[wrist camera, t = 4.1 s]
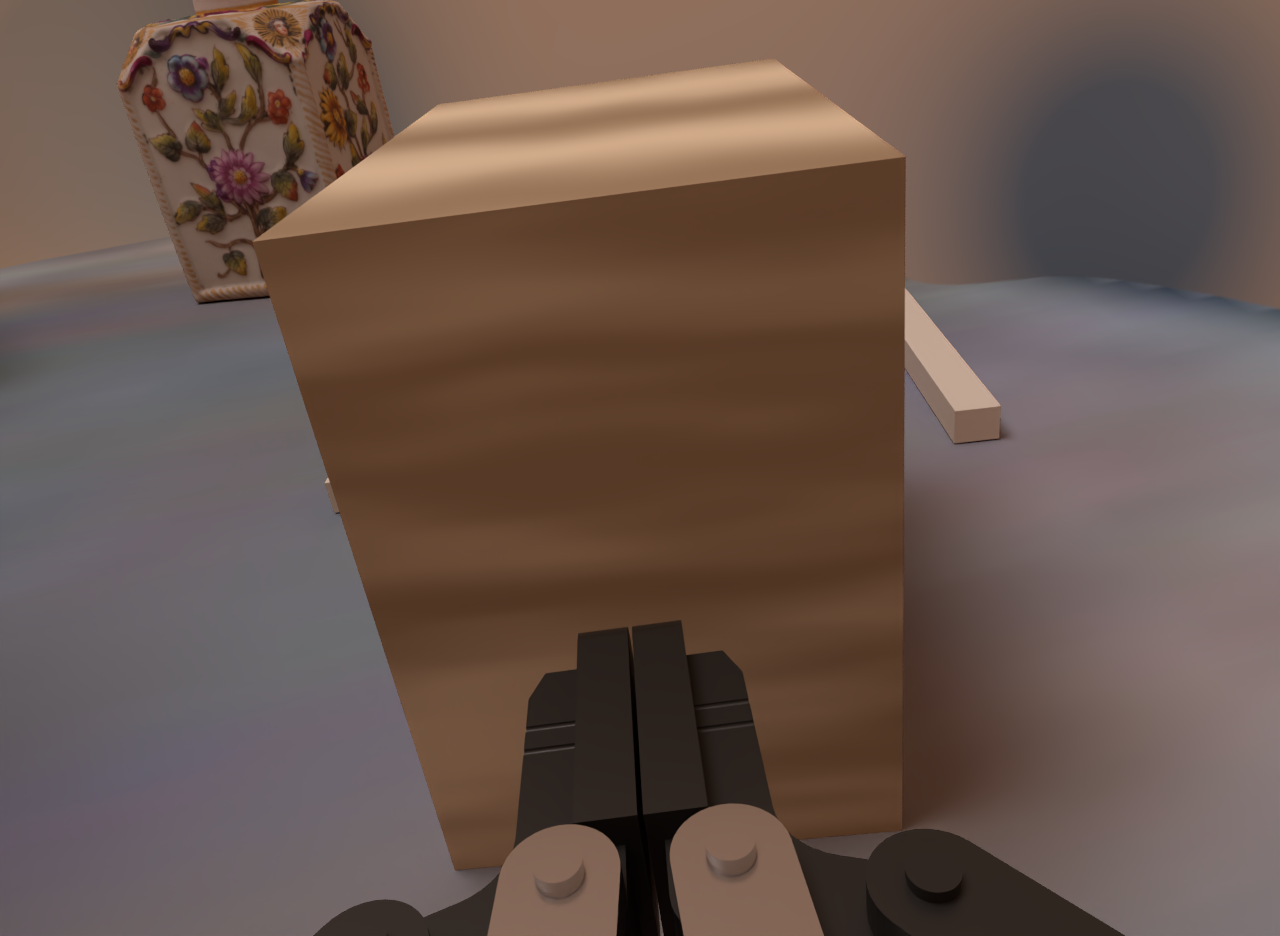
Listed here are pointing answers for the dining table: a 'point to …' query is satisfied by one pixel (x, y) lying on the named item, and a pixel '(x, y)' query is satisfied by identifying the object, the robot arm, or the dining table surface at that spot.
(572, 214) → the wooden block
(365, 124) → the decorative jar
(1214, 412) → the dining table surface
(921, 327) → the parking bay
